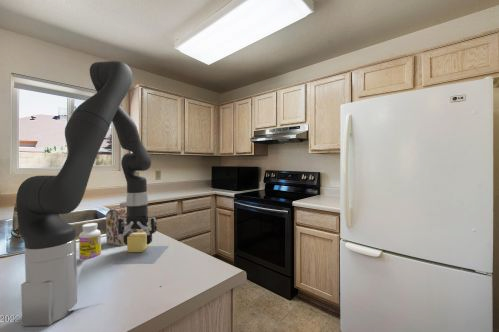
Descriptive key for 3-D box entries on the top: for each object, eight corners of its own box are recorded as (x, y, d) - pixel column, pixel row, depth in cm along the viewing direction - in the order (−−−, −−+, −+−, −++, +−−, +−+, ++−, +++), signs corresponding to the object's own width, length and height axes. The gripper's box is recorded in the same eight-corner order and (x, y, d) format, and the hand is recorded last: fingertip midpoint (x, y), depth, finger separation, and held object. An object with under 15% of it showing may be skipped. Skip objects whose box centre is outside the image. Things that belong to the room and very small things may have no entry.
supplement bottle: (76, 263, 81) (75, 227, 81) (84, 255, 88) (83, 222, 87) (97, 260, 83) (96, 226, 83) (103, 253, 89) (103, 221, 89)
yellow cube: (142, 251, 87) (141, 236, 87) (127, 252, 87) (127, 236, 87) (148, 246, 92) (148, 231, 92) (134, 246, 92) (134, 231, 92)
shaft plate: (153, 266, 78) (153, 251, 78) (113, 267, 78) (112, 252, 77) (169, 248, 94) (169, 236, 94) (135, 249, 94) (135, 236, 93)
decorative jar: (129, 235, 111) (128, 199, 111) (146, 238, 106) (145, 200, 106) (105, 243, 100) (104, 203, 100) (122, 247, 95) (121, 205, 95)
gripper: (158, 201, 93) (159, 240, 93) (124, 201, 93) (124, 240, 93) (151, 205, 86) (152, 247, 86) (113, 205, 85) (114, 247, 86)
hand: (138, 243), depth 89 cm, fingers open, 8 cm apart
